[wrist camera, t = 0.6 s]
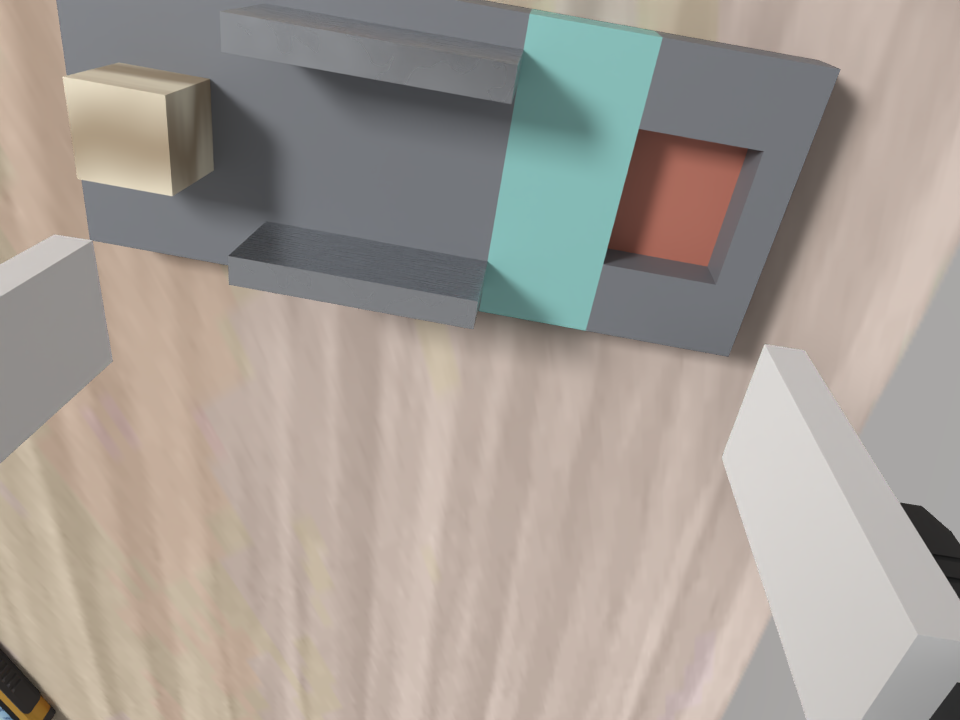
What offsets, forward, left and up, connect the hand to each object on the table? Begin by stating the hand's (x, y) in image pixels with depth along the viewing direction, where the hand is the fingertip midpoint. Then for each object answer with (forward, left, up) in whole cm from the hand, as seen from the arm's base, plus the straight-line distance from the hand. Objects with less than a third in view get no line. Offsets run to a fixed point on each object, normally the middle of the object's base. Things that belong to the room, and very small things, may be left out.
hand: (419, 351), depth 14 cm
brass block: (+3, -16, -23) cm, 28 cm away
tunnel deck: (+3, -3, -26) cm, 26 cm away
